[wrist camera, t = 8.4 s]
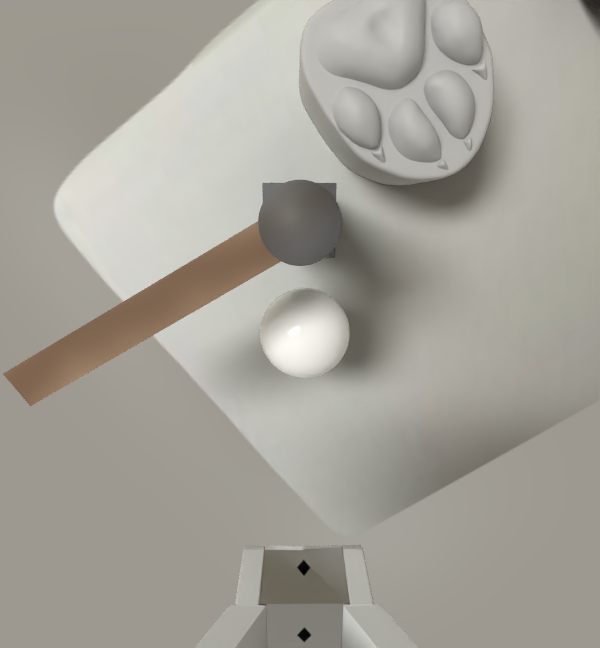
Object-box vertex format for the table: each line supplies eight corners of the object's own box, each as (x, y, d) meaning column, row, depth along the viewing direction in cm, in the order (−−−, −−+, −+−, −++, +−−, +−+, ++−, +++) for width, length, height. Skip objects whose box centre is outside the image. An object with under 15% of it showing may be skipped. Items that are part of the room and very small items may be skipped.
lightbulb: (317, 258, 35) (327, 281, 25) (350, 320, 37) (372, 366, 26) (254, 292, 36) (237, 329, 25) (288, 351, 38) (286, 408, 27)
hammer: (348, 235, 20) (356, 239, 18) (65, 397, 23) (37, 421, 20) (313, 168, 19) (316, 163, 17) (22, 344, 22) (-13, 362, 19)
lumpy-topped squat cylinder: (390, -20, 30) (428, -107, 21) (483, 132, 33) (548, 108, 24) (280, 81, 31) (275, 37, 23) (378, 216, 34) (405, 220, 26)
